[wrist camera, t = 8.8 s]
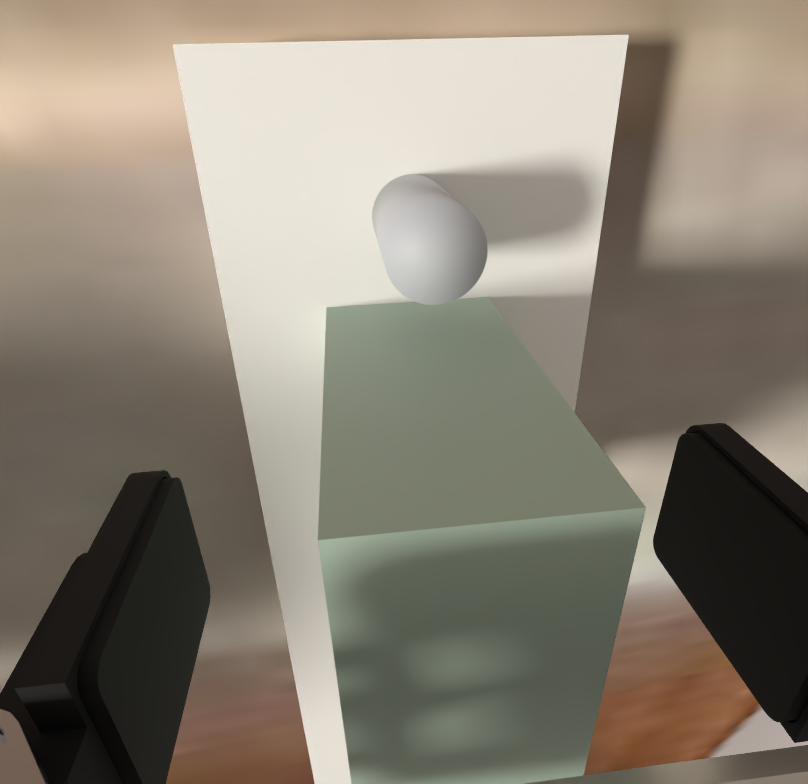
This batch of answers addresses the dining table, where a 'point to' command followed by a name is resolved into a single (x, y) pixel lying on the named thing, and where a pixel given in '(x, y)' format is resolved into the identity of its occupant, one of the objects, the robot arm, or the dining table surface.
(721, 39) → the dining table surface
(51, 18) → the dining table surface
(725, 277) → the dining table surface
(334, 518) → the tall sage green block
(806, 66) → the dining table surface
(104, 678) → the robot arm
